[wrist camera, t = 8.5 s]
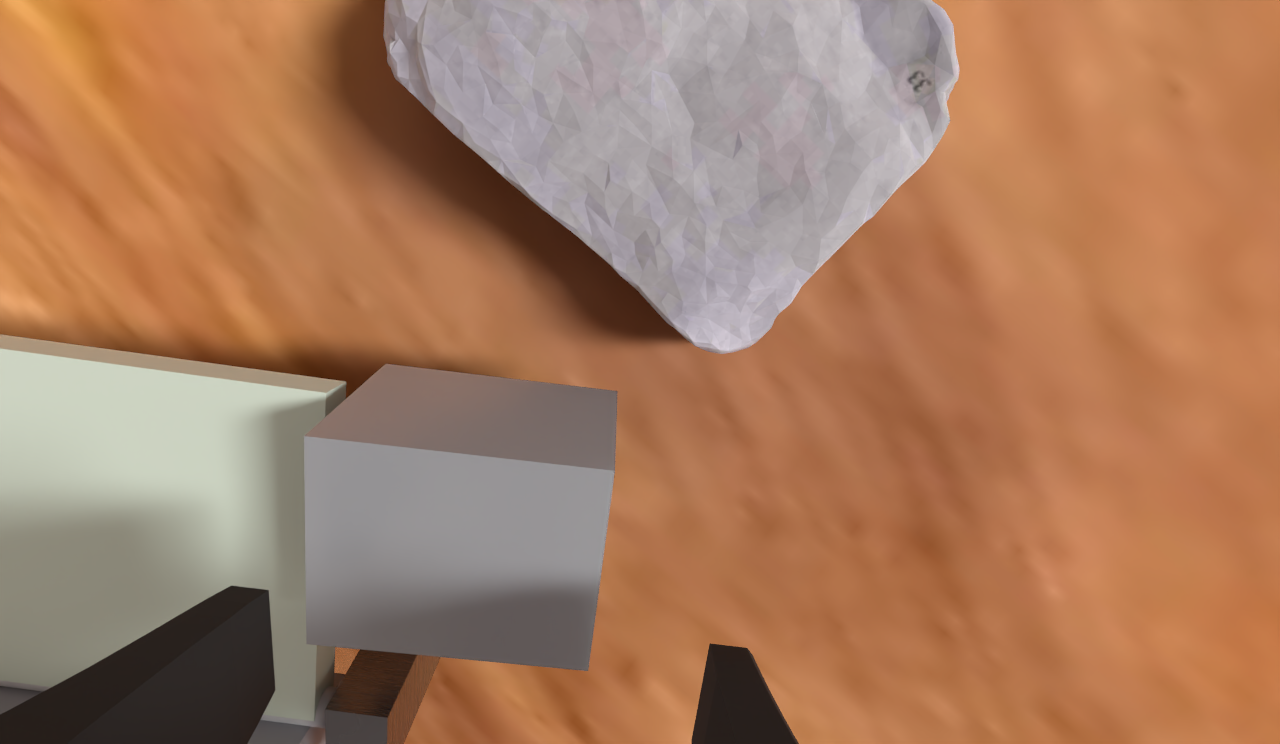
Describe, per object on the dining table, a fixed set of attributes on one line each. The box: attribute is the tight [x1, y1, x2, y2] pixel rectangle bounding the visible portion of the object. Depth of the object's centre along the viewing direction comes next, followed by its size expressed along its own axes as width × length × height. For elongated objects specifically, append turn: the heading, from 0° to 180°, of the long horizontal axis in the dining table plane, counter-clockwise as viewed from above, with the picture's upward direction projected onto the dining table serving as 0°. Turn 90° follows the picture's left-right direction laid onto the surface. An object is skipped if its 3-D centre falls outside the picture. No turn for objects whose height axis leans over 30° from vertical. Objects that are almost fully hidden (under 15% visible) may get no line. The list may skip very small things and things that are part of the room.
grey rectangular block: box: [304, 364, 617, 671], centre depth 15 cm, size 4×4×6 cm
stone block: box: [383, 0, 959, 354], centre depth 17 cm, size 12×5×10 cm
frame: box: [325, 649, 440, 744], centre depth 19 cm, size 2×14×8 cm, turn 82°
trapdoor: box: [0, 334, 346, 744], centre depth 16 cm, size 13×10×3 cm
